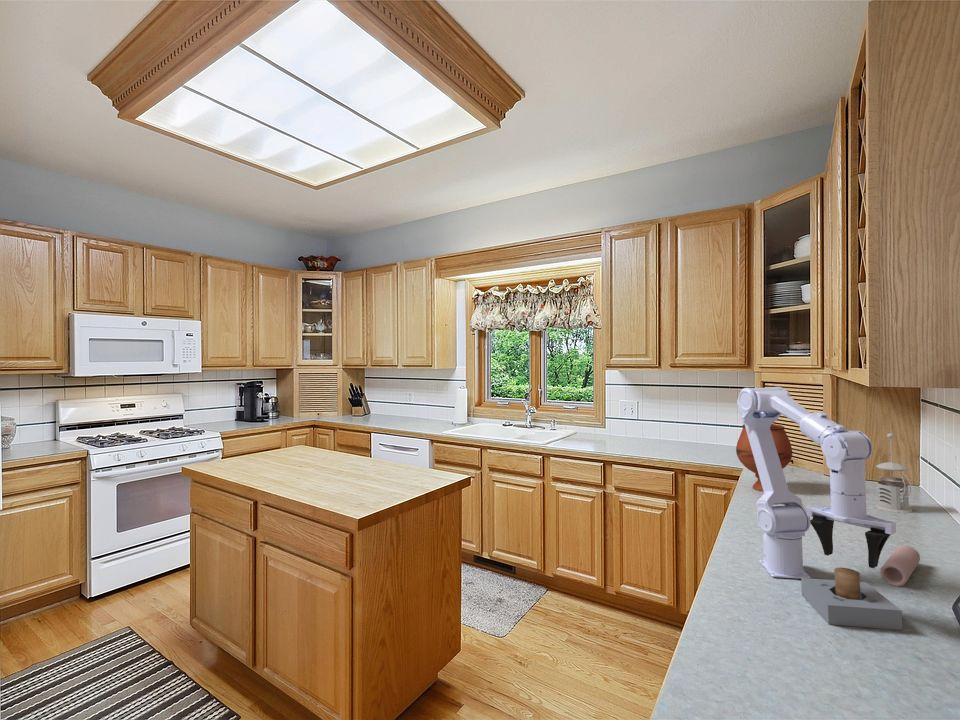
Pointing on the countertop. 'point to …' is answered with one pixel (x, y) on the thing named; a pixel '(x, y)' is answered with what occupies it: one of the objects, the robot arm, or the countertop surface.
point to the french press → (893, 488)
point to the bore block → (851, 606)
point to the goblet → (746, 452)
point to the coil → (900, 565)
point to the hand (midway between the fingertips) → (850, 560)
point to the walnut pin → (847, 583)
